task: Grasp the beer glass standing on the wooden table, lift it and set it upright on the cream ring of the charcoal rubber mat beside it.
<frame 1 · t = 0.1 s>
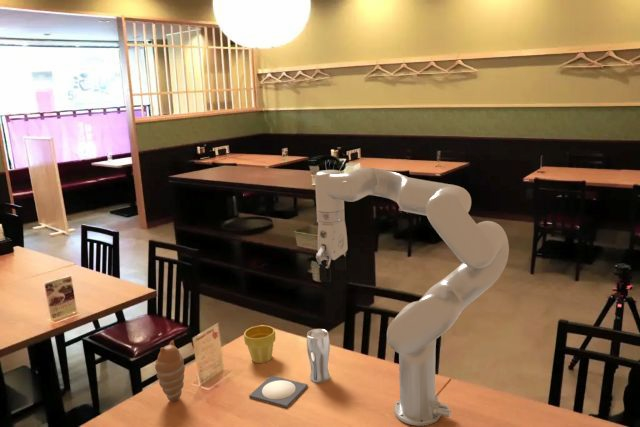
hand: (333, 275, 147), 37 cm above the table, tool pointing down, fingers open, 9 cm apart
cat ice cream: (174, 400, 156), on the table
plant pot: (261, 358, 178), on the table
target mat: (278, 392, 157), on the table
beer glass: (320, 378, 164), on the table
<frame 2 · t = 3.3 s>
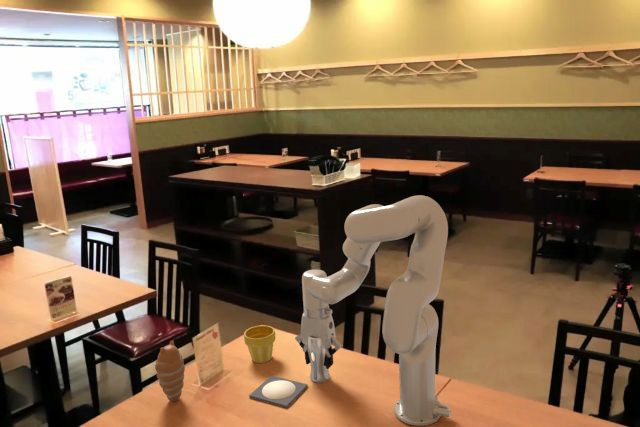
hand: (319, 364, 163), 5 cm above the table, tool pointing down, fingers closed on beer glass, 6 cm apart
beer glass: (320, 378, 164), on the table, touching gripper
everything else where it was.
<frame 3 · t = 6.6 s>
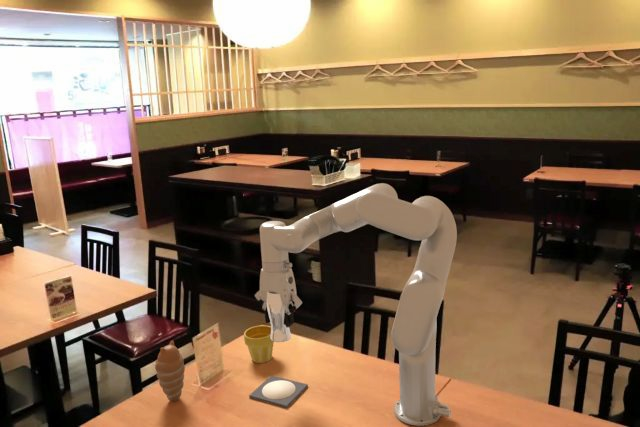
hand: (279, 322, 153), 22 cm above the table, tool pointing down, fingers closed on beer glass, 6 cm apart
beer glass: (280, 338, 155), point 17 cm above the table, touching gripper
everything else where it was.
when the fingers open (7 cm above the table, at t = 10.0 s): beer glass drops 2 cm, resting on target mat.
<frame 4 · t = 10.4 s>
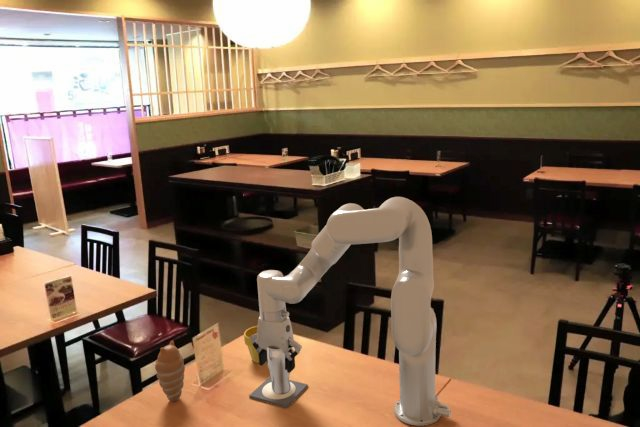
hand: (277, 367, 156), 8 cm above the table, tool pointing down, fingers open, 9 cm apart
beer glass: (281, 390, 157), point 1 cm above the table, touching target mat
everything else where it was.
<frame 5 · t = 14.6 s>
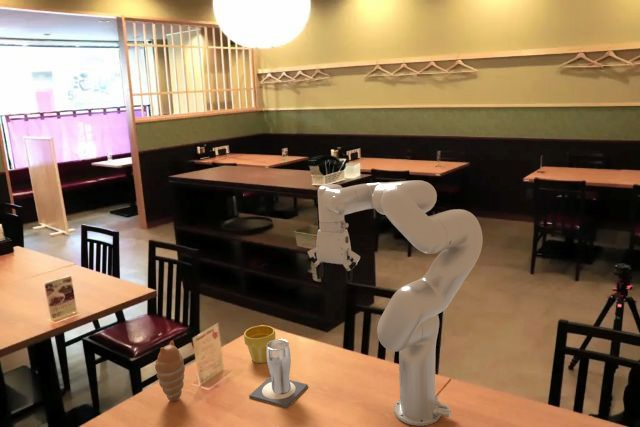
hand: (334, 279, 162), 30 cm above the table, tool pointing down, fingers open, 9 cm apart
nothing on the table moved.
at the end: beer glass inside the target area on the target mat (0.9 cm from its centre), point 0.7 cm above the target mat's base; beer glass tilted 0°; the gripper is holding nothing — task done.
